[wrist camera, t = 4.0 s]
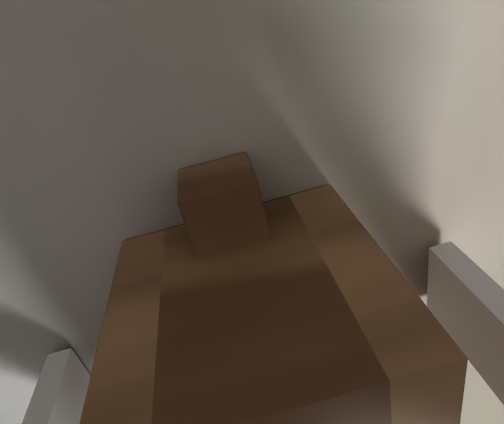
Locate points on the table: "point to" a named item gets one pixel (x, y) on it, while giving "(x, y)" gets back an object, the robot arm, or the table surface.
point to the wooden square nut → (267, 318)
